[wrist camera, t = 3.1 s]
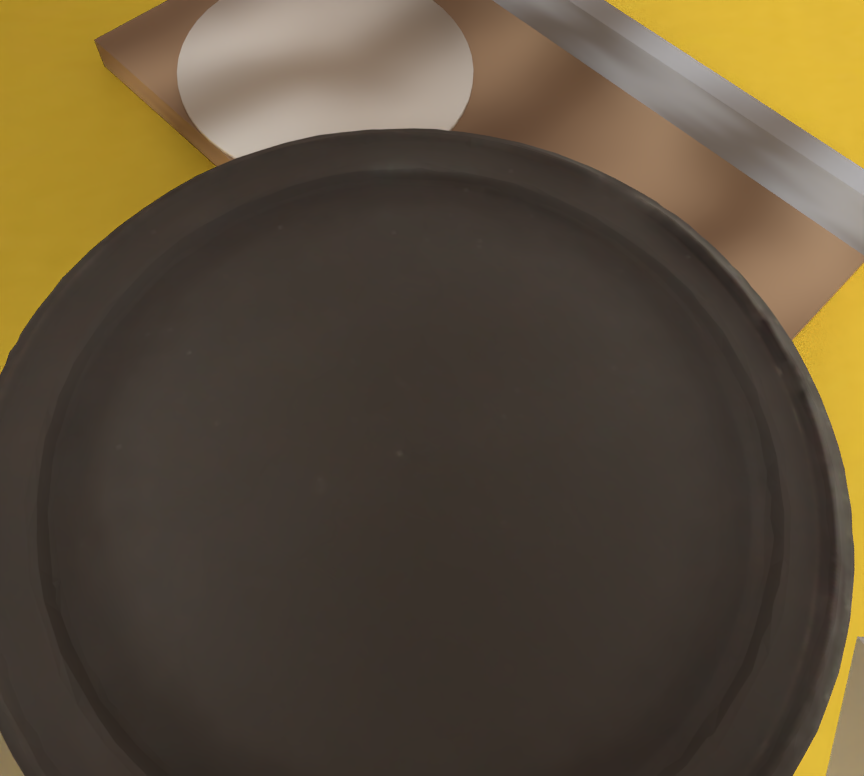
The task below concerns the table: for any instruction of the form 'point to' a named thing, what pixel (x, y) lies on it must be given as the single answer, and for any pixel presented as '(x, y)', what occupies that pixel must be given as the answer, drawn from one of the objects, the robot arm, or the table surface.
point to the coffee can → (414, 483)
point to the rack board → (514, 111)
